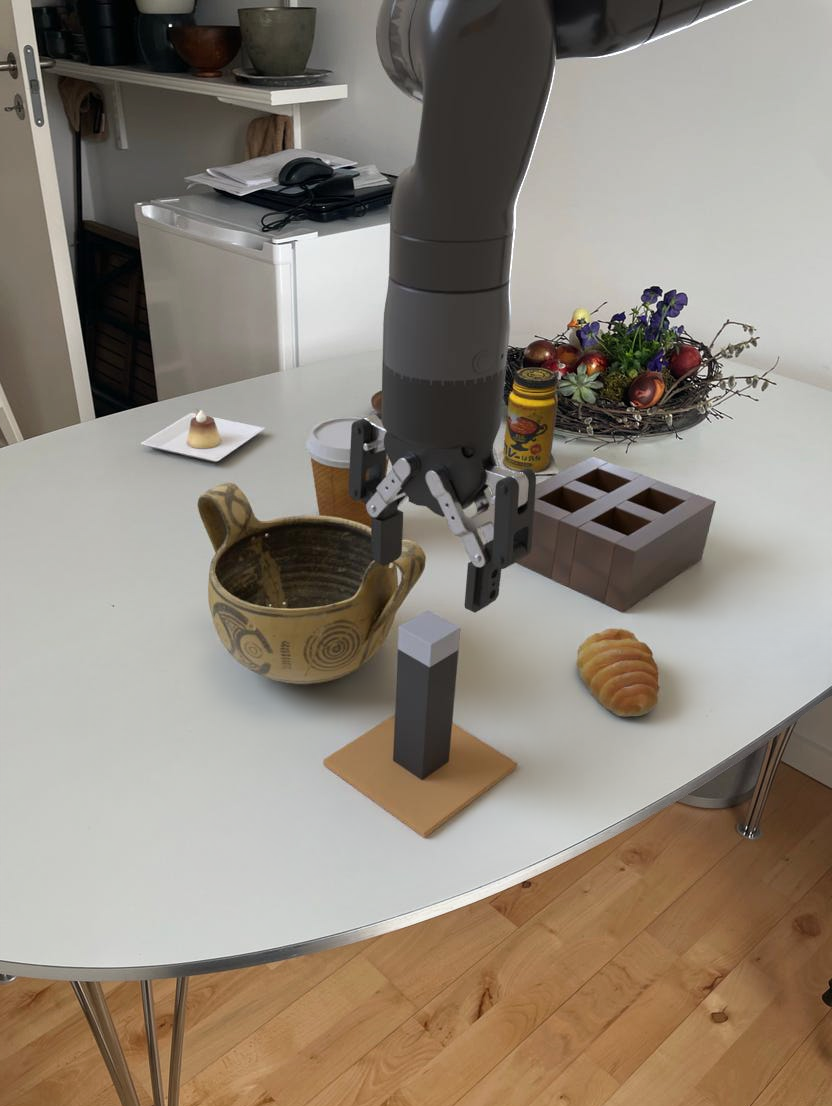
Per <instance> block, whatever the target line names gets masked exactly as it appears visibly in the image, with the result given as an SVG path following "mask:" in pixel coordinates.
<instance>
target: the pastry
mask: <svg viewBox="0 0 832 1106" xmlns="http://www.w3.org/2000/svg"><path fill="white" fill-rule="evenodd" d="M653 655H654V653H653V651H652V649H651V648H650V647H649V646H648V644H647V643H646V642H643V641H639V639H637V637H636V636H635V633H633V632H631V631H629V630H627V629H623V628H607V629H605V630H603V631H600V632H596V633H593V634H591V635H590V636H589V637H587V638H586V640H584V641H583V642H582V643H581V644H580V645H579V646H578V649H577V659H576V669H577V672H578V673H579V674H578V675H579V676H580V679H581V681H582V682H583V683H584V685H585V687H586V688H587V689H588V690H589V692H590V694H592V697H593V696H594V698H595V699H596V701H597V702H599V704H600V705H601V706H602V707H603V708H604V709H606V710H608V711H610V712H612V713H613V714H614V715H615V716H617V717H623V718H626V717H640V716H643V715H647V714H649V713H650V711H651V710H653V708H654V707H656V706H657V705H658V703H659V700H658V699H659V696H658V695H659V691H660V685H659V674H660V673H659V667H658V665H657V663H656V662H655V659H654V657H653Z"/></svg>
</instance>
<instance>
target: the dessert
mask: <svg viewBox="0 0 832 1106" xmlns="http://www.w3.org/2000/svg"><path fill="white" fill-rule="evenodd" d="M196 411H197V413H195V412H189V413H188V414H186V415H185V416H183V417H181V418H179V419H178V420H176V421H175V422H173V423H171V424H170V425H168V426H166V427H164V428H163V429H162V430H160V431H158V432H156V433H154V434H153V435H152V436H150V437H148V438H147V439H145V440H144V441H141V442H140V445H143V446H146V447H148V448H153V449H154V450H159V451H163V452H168V453H171V454H176V455H181V456H185V457H189V458H193V459H197V460H198V459H199V460H203V461H207V462H212V463H217V462H219V461H220V460H222V459H224V458H225V457H226V456H227V455H229V454H230V453H232V452H234V451H235V450H237V449H238V448H239V447H241V446H242V445H245V443H247V442H248V441H249V440H251V439H252V438H254V437H255V436H257V435H258V434H260V433H261V432H262V431H264V430H265V429H266V427H264V426H258V425H252V424H249V423H243V422H238V421H235V420H234V421H233V420H229V419H223V418H220V417H214V416H210V415H206V413H205V412H204V411H203V409H200V411H199V410H198V409H196Z"/></svg>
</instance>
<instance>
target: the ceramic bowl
mask: <svg viewBox="0 0 832 1106" xmlns="http://www.w3.org/2000/svg"><path fill="white" fill-rule="evenodd" d="M197 509H198V514H199V518H200V519H201V522H202V524H203V527H204V529H205V531H206V533H207V536H208V538H209V540H210V543H211V545H212V548H213V550H214V553H215V554H214V555H213V557H212V559H211V561H210V564H209V565H210V566H209V572H208V581H207V596H208V597H207V599H208V606H209V611H210V615H211V618H212V622H213V625H214V629H215V631H216V634H217V636H218V638H219V640H220V642H221V643H222V646H223V647H224V648H225V649H226V651H228V653H229V655H231V656H232V658H233V659H234V660H236V662H238V663H239V664H240V665H242V666H243V667H245V668H246V669H248V670H250V671H251V672H253V673H256V674H258V675H259V676H262V677H264V678H267V679H268V680H273V681H277V682H280V683H284V684H285V683H286V684H293V685H312V684H313V685H314V684H322V683H327V682H331V681H334V680H338V679H340V678H343V677H345V676H347V675H349V674H351V673H353V672H355V671H356V670H358V669H360V668H361V667H362V666H364V664H366V663H368V661H369V660H370V659H372V658H373V656H374V655H375V654H376V653H377V652H378V651H379V649H380V648H381V647H382V646H383V644H384V643H385V641H386V639H387V637H388V635H389V633H390V631H391V629H392V626H393V623H394V621H395V617H396V614H397V612H398V610H399V609H400V608H401V606H402V604H403V603H404V602H405V600H406V598H407V597H408V595H409V593H411V591H412V589H413V588H414V586H415V585H416V584H417V583H418V581H419V579H420V578H421V577H422V575H423V573H424V571H425V568H426V561H427V556H426V553H425V552H424V550H423V548H422V547H421V545H420V544H418V543H417V542H415V541H414V540H413V541H412V540H410V539H402V553H401V556H400V557H399V558H398V559H397V560H395V561H393V562H391V563H389V564H387V565H385V566H382V565H380V564H378V563H376V562H375V561H374V553H373V551H372V548H371V539H372V538H371V534H372V533H371V528H370V527H369V526H366V525H364V524H361V523H358V522H355V521H351V520H347V519H343V518H339V517H331V516H319V514H317V515H316V514H313V515H312V514H311V515H310V514H309V515H307V514H306V515H305V514H304V515H291V516H282V517H278V518H274V519H270V520H265V521H264V520H260V519H258V518H257V517H256V514H255V513H254V511H253V508H252V506H251V503H250V502H249V499H248V497H247V496H246V495H245V493H244V491H243V490H242V489H241V488H240V487H239V486H238V485H237V484H236V483H233V482H231V481H228V482H227V481H225V482H223V483H221V484H219V485H217V486H215V487H212V488H210V489H208V490H206V491H205V492H204V493H202V494H201V495H200V496H199V497H198V499H197ZM398 570H399V572H400V574H401V577H400V582H399V577H398Z"/></svg>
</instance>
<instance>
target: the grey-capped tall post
mask: <svg viewBox="0 0 832 1106" xmlns="http://www.w3.org/2000/svg"><path fill="white" fill-rule="evenodd" d="M397 633H398V634H397V654H396V655H397V658H396V659H397V661H396V679H395V680H396V681H395V685H396V686H395V704H394V706H395V707H394V708H395V709H394V715H395V725H394V748H393V761H394V762H396V763H397V764H399V765H400V766H402V767H403V768H405V769H406V770H408V771H409V772H410V773H412V774H413V775H415V776H416V777H418V778H419V779H421V780H423V779H425V778H426V777H428V776H429V775H430V774H432V773H433V772H435V771H436V770H438V769H439V768H440V767H442V766H443V765H445V764H446V763H447V762H449V754H450V742H451V731H452V723H453V720H454V719H453V717H454V708H455V695H456V684H457V673H458V663H459V649H460V639H461V627H460V626H459V625H457V624H455V623H453V622H451V621H449V620H447V619H445V618H444V617H442V616H440V615H438V614H436V613H435V612H432V610H426V611H424V612H422V613H420V614H419V615H416V616H415V617H413V618H411V619H410V620H408V621H406V622H404V623H402V624H401V625H399V626H398V632H397Z"/></svg>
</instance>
